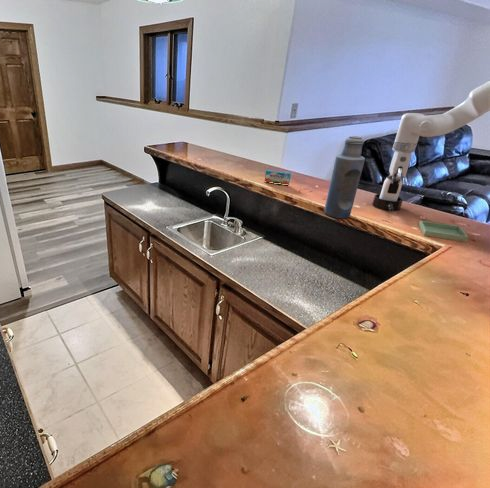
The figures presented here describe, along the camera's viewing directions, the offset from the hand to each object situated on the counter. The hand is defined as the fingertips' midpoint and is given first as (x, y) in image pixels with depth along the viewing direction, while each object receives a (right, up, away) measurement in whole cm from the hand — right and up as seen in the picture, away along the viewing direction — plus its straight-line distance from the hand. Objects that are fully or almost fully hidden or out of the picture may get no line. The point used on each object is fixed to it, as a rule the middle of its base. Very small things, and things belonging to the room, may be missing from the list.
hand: (390, 190), depth 144 cm
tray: (+4, -19, -21) cm, 28 cm away
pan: (-2, -8, 0) cm, 8 cm away
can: (0, -6, +3) cm, 7 cm away
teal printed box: (-38, +8, +31) cm, 49 cm away
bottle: (-25, -11, -5) cm, 28 cm away
